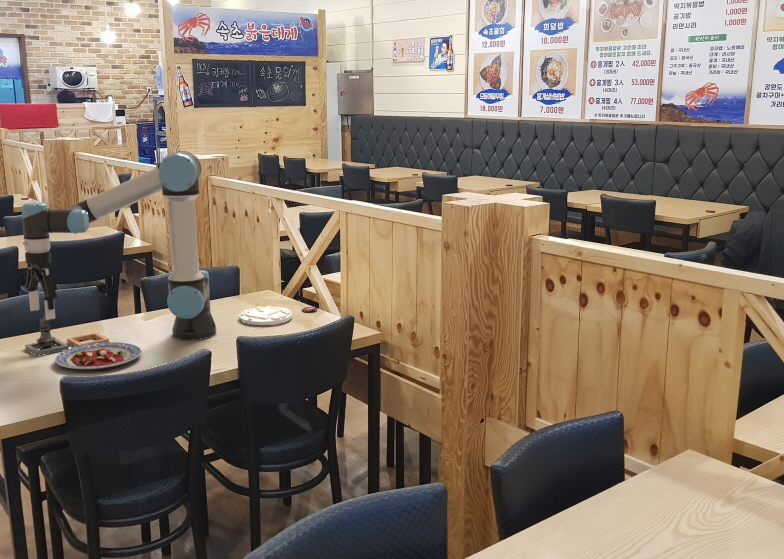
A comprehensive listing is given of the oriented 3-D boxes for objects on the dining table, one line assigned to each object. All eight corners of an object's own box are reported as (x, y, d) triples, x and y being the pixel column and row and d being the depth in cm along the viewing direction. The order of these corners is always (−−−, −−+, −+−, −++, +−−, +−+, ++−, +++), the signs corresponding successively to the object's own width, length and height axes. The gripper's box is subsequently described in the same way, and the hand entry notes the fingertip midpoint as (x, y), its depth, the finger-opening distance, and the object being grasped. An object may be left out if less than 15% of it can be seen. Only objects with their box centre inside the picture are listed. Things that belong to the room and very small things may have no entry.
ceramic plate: (55, 379, 226) (54, 369, 226) (55, 353, 249) (54, 345, 249) (145, 368, 237) (145, 359, 236) (137, 344, 260) (137, 336, 259)
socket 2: (109, 343, 260) (109, 338, 260) (79, 349, 253) (79, 345, 253) (96, 336, 267) (96, 332, 267) (67, 342, 260) (66, 338, 260)
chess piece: (49, 352, 249) (46, 317, 247) (33, 351, 251) (29, 316, 248) (60, 347, 255) (57, 312, 252) (44, 346, 256) (41, 311, 253)
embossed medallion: (230, 319, 293) (229, 311, 292) (273, 310, 305) (273, 303, 305) (257, 330, 278) (257, 322, 277) (302, 320, 291) (301, 313, 290)
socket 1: (68, 349, 253) (68, 345, 252) (37, 356, 246) (36, 352, 245) (56, 342, 260) (56, 338, 259) (25, 349, 253) (25, 344, 253)
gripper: (11, 246, 251) (17, 308, 256) (40, 258, 234) (45, 324, 239) (35, 244, 257) (40, 305, 261) (65, 255, 239) (69, 320, 244)
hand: (42, 314), depth 250 cm, fingers open, 13 cm apart
